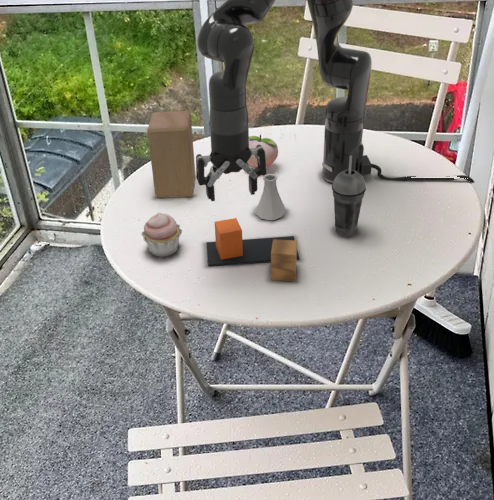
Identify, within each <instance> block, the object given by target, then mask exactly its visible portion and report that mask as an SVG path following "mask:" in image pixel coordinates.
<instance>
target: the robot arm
mask: <svg viewBox="0 0 494 500" xmlns="http://www.w3.org/2000/svg"><path fill="white" fill-rule="evenodd" d="M276 1H277V0H226V1H224V2H223V3H222V4H221V5H220V6H219V7H218V8H217V9H216V10H215V11H213V12H212V13H211V14H210V15H209V16H208V18H206V20H205V21H204V22H203V24H202V25H201V27H200V28H199V32H198V35H197V39H196V40H197V41H196V43H197V49H198V51H199V53H200V54H201V55H202V56H203V57H205V58H207V59H209V60H213V61H216V62H220V63H223V64H224V70H218V71H216V72H214V73H213V74H211V76H210V77H209V80H208V95H209V96H208V97H209V114H208V115H209V121H208V125H209V134H210V149H211V150H210V154H209V155H202V154H201V153H197V154H196V157H195V176H196V178H195V180H196V181H197V184H198V185H199V186H201V187H202V186H205V192H206V196H207V200H210V201H211V202H215V201H216V198H215V196H216V195H215V193H216V192H215V183H216V182H217V180H219V179H220V178H221V176H222V175H223V174H224V175H228V174H231V173H240V172H241V171H244V172H245V173H246V174H247V175H248V191H249V194H250V195H251V196H253V195H256V192H257V191H258V179H259V178H260V177H261V176H263V177H264V176H265V175H267V174H268V173H267V167H266V159H265V151H264V149H263V147H262V146H261V145H257V146H256V148H252V149H249V140H250V139H249V136H250V134H249V133H250V131H249V110H248V103H247V80H248V76H249V72H250V68H251V63H252V60H253V56H254V52H255V39H254V36H253V34H252V31H251V30H250V29H249V27H247V26H248V25H257V24H259V23H261V22H262V21H263V20H264V19H265V17H267V15H268V13H269V12H270V10H271V9H272V7H273V6H274V4H275V2H276ZM306 2H307V6H308V11H309V14H310V18H311V21H312V22H311V23H312V26H313V31H314V37H315V42H316V49H317V59H318V68H319V74H320V79H321V81H322V82H323V84H324V85H325V86H327V87H330V88H334V89H340V90H343V91H344V90H346V91H347V95H343V96H338V97H335V98H332V99H330V100H329V101H328V102H327V103H326V106H325V118H324V135H323V136H324V138H323V139H324V140H323V154H322V156H323V158H322V163H321V167H322V171H321V176H322V179H323V180H324V181H326V182H327V183H330V184H333V182H334V179H335V178H336V176H337V175H338V174H339V173H340V172H342V171H344V170H349V158H350V155H351V156H352V165H351V170H355V171H357V172H359V173H360V174H361V175H362V176H370V175H372V169H374V170H376V171H377V173H376V174H377V177H378V178H379V179H381V180H384V181H392V182H393V181H394V182H402V181H457V180H458V179H454V178H411V177H416V176H417V175H407V177H406V176H405V175H404V176H397V177H388V176H385V175H384V174H382V172H383V171H382V168H381V167H380V166H379V165H377V164H374V163H371V161H370V159H369V158H370V157H368V155H367V154H364V150H365V149H364V148H365V146H364V145H363V132H364V121H365V111H366V107H367V102H368V95H369V89H370V87H369V86H370V82H371V81H370V80H371V75H372V66H373V65H372V57H371V54H370V53H369V52H368V51H365V50H361V49H354V48H347V47H342V46H341V45H340V43H339V33H340V31H341V30H342V28H343V27H344V25H345V24H346V22H347V21H348V19H349V17H350V16H351V13H352V10H353V7H354V0H306ZM251 155H254V157H255V158H257V166H258V167H255V168H254V167H253V166H251V165H250V164H249V163H248V160H249V159H250V157H251ZM209 163H211V164H212V166H211V167H210V169H209V172H208V173H207V174H206V176H205V168H206V167H208V165H209ZM456 176H457V177H460V178H464V179H463V180H465V181H467V182H469V181H470V182H469V183H470V184H475V180H474V179H473V178H472V177H471V176H469V175H465V174H459V175H456ZM465 178H466V179H465ZM467 178H468V179H467Z"/></svg>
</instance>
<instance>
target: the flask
mask: <svg viewBox="0 0 494 500" xmlns="http://www.w3.org/2000/svg"><path fill="white" fill-rule="evenodd" d="M277 179H278V175H277V174H274V173H266V175H264V176H263V177H262V181H264V182H263V191H262V193H261V196H260V198H259V201H258V203H257V206H256V209H255V211H254V214H255V215H256V216H257V217H258V218H259V219H261V220H268V221H276V220H278V219H280V218H283V217H284V215H285V213H286V212H287V209H286V207H285V204H284V203H283V200H282V198H281V196H280V193H279V190H278V187H277V186H278V185H277Z"/></svg>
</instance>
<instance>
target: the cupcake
mask: <svg viewBox="0 0 494 500" xmlns="http://www.w3.org/2000/svg"><path fill="white" fill-rule="evenodd" d="M180 227H181V225H180V224H178V223H177V221H176V220H175V218H174V217H173V216H172V215H170V214H167V213H162V212H160V211H159V212H158V211H157V213H156V214H154V215H152V216H151V217H150V218H148V220H147V221H146V222H145V223H144V225H143V231H142V232H141V233H140V235H141V236H142V237H143V238H142V240H143V241H144V243H146V245H147V248H148V250H149V252H150V253H151V254H152V255H153V256H156V257H162V258H163V257H169V256H171V255H174V254H175V252H176V251H177V250H178V247H179V241H180V237H181V235H182V232H183V229H182V228H180Z"/></svg>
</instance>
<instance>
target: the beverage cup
mask: <svg viewBox="0 0 494 500" xmlns="http://www.w3.org/2000/svg"><path fill="white" fill-rule="evenodd" d="M351 165H352V156H351V155H350V158H349V170H344V171H342V172H340V173H339V174H338V175H337V176H336V178H335V179H334V182H333V183H332V185H331V190H332V196H333V210H334V211H333V212H334V228H335V229H334V230H335V231H334V232H335V233H336V235H338V236H339V237H342V238H343V237H345V238H347V237H352V236H354V235H355V234H356V230H357V228H358V223H359V219H360V213H361V208H362V202H363V198H364V196H365V194H366V191H367V188H366V181H365V178H364V177H363V176H364V175H361V174H360V173H359V172H357V171H355V170H351Z"/></svg>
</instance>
